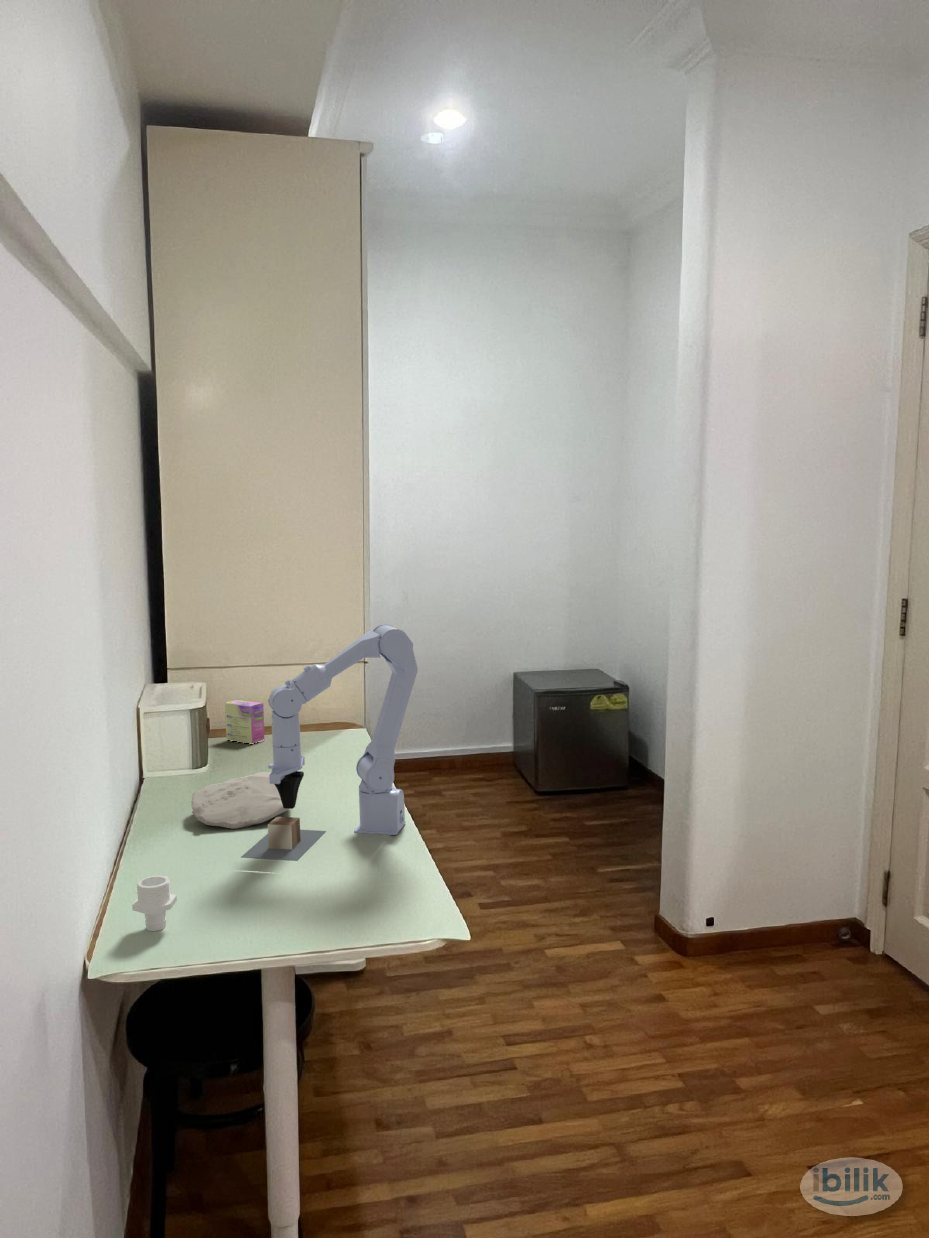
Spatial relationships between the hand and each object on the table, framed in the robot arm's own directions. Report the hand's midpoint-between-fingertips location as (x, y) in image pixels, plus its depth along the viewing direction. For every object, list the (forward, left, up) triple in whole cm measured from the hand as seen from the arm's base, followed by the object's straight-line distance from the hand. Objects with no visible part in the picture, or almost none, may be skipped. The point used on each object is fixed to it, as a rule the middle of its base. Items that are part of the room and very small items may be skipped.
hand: (289, 807), depth 197 cm
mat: (0, +3, -7) cm, 8 cm away
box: (+45, -78, -7) cm, 90 cm away
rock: (+18, -18, -8) cm, 26 cm away
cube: (0, +1, -4) cm, 4 cm away
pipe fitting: (+7, +42, -7) cm, 44 cm away
